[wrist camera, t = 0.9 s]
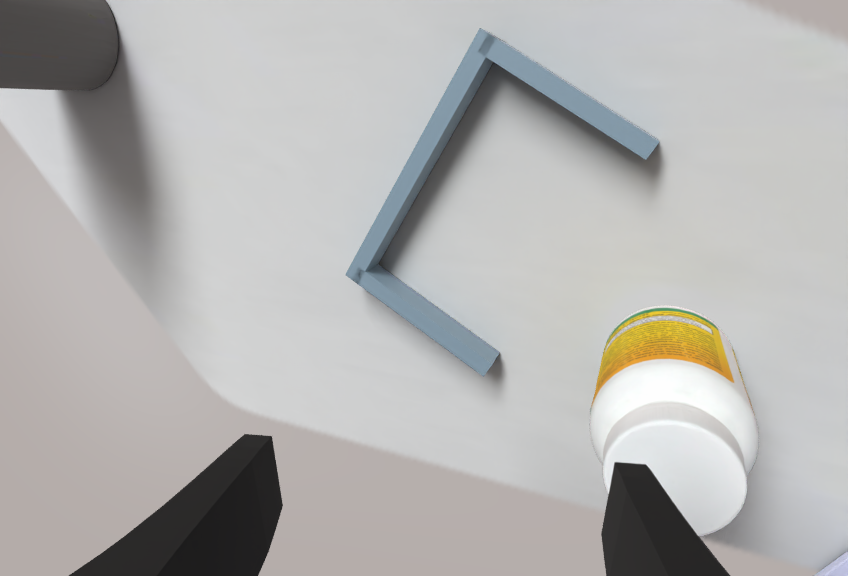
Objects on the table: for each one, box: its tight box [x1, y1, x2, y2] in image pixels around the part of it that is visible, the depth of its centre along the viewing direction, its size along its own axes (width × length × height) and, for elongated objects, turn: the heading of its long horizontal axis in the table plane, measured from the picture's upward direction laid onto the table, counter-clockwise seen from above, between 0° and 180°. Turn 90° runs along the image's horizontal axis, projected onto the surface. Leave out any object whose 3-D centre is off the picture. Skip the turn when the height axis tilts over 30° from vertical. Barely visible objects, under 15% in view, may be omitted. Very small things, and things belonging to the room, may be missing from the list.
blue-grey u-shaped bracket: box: [346, 28, 659, 376], centre depth 26 cm, size 8×13×2 cm, turn 149°
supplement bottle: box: [589, 305, 759, 536], centre depth 21 cm, size 5×5×10 cm
